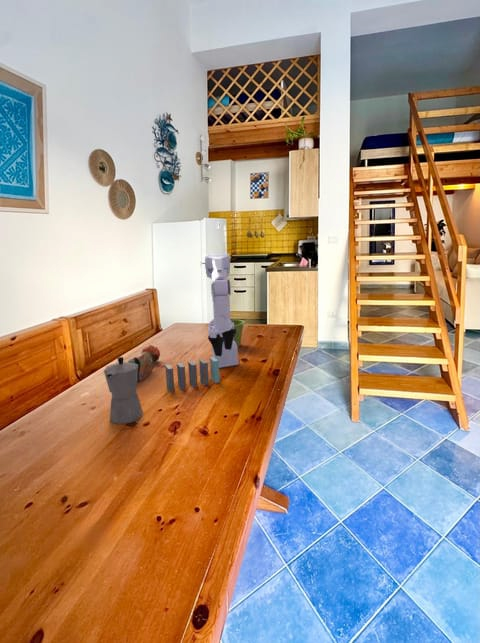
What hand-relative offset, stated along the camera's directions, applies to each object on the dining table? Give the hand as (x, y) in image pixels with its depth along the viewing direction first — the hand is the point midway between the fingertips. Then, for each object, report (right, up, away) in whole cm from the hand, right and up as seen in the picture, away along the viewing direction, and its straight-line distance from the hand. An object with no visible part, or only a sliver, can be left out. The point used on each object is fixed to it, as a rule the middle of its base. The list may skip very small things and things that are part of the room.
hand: (223, 352), depth 133 cm
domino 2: (-14, -11, -4) cm, 18 cm away
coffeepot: (-27, -17, -23) cm, 39 cm away
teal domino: (-3, -10, +1) cm, 11 cm away
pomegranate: (-30, -6, +22) cm, 38 cm away
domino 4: (-7, -11, -1) cm, 12 cm away
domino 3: (-10, -11, -2) cm, 15 cm away
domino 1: (-18, -12, -5) cm, 22 cm away
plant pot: (+2, -1, +41) cm, 41 cm away
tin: (-30, -10, +7) cm, 33 cm away
